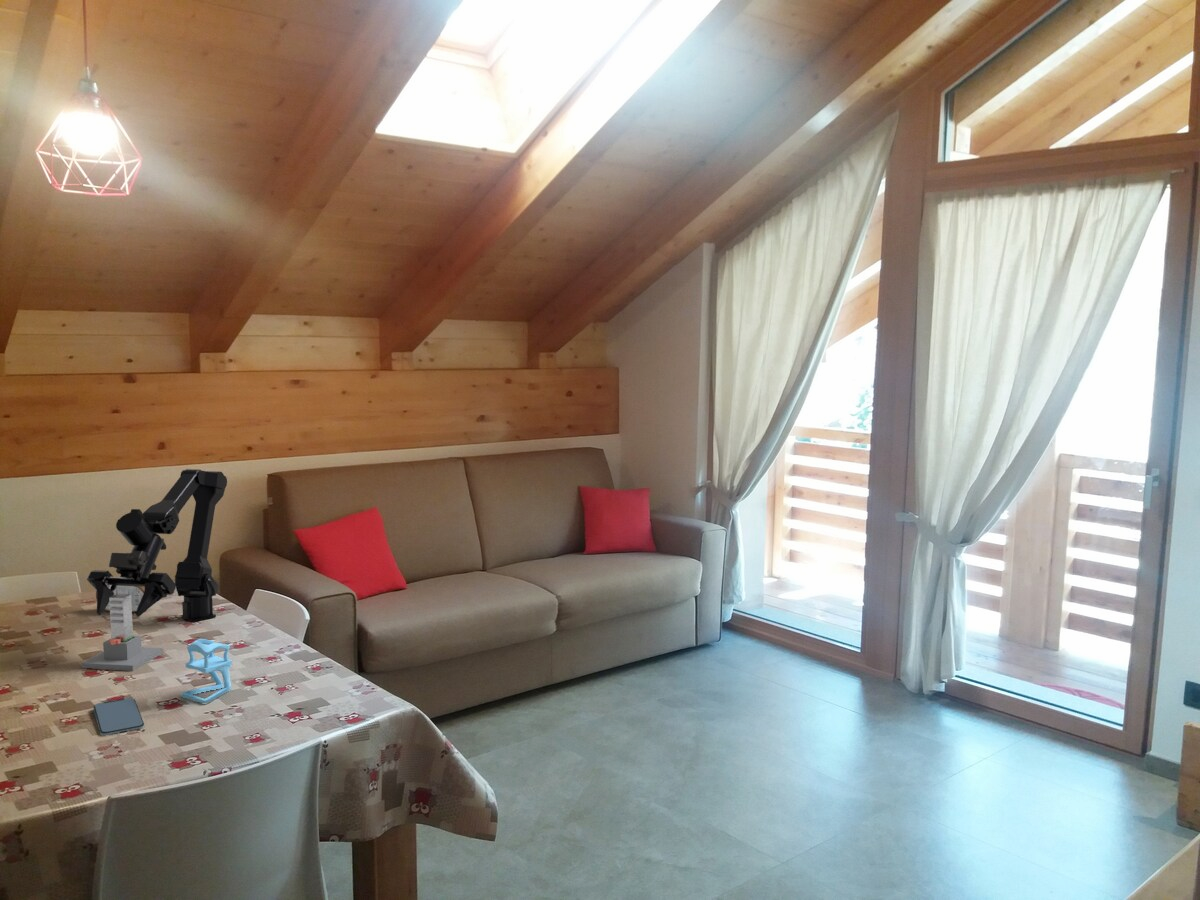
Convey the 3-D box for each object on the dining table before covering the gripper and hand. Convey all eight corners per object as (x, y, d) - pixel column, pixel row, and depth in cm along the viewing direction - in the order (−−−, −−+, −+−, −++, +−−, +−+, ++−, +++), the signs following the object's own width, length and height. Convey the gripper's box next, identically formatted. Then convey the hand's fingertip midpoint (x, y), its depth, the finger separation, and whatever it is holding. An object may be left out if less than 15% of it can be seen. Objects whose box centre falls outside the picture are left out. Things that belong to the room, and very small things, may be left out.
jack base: (114, 650, 221) (113, 626, 220) (162, 652, 220) (161, 628, 219) (81, 668, 209) (80, 643, 208) (132, 670, 208) (131, 645, 207)
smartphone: (100, 733, 174) (92, 703, 186) (100, 741, 174) (92, 711, 187) (145, 724, 178) (134, 696, 190) (145, 732, 178) (134, 703, 191)
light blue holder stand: (239, 692, 197) (237, 637, 195) (204, 705, 190) (203, 647, 188) (215, 685, 201) (213, 630, 199) (180, 697, 194) (178, 640, 192)
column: (119, 637, 216) (117, 593, 214) (133, 638, 215) (131, 594, 214) (109, 643, 212) (107, 598, 211) (124, 643, 212) (121, 598, 210)
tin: (154, 611, 253) (153, 580, 252) (147, 614, 250) (146, 583, 248) (101, 608, 254) (100, 578, 253) (94, 611, 251) (93, 581, 250)
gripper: (89, 536, 216) (60, 595, 206) (167, 539, 214) (141, 599, 205) (112, 561, 225) (85, 619, 215) (186, 564, 223) (162, 623, 213)
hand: (117, 615), depth 212 cm, fingers open, 9 cm apart
